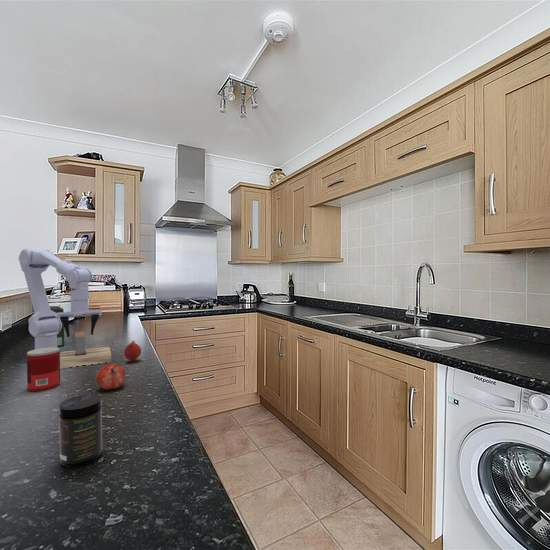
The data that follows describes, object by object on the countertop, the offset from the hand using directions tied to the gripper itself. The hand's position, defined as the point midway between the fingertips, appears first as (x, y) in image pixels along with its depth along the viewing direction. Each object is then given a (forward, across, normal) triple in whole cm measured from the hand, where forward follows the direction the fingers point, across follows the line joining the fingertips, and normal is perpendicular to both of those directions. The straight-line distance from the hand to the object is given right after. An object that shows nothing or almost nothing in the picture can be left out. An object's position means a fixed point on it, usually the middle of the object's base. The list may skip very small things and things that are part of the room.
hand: (80, 335), depth 119 cm
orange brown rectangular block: (+7, 0, 0) cm, 7 cm away
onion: (+10, +17, -11) cm, 23 cm away
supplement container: (+10, +1, -73) cm, 74 cm away
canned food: (+10, -9, -25) cm, 28 cm away
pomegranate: (+10, +8, -37) cm, 39 cm away
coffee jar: (+10, -11, +37) cm, 40 cm away
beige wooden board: (+10, 0, 0) cm, 10 cm away
